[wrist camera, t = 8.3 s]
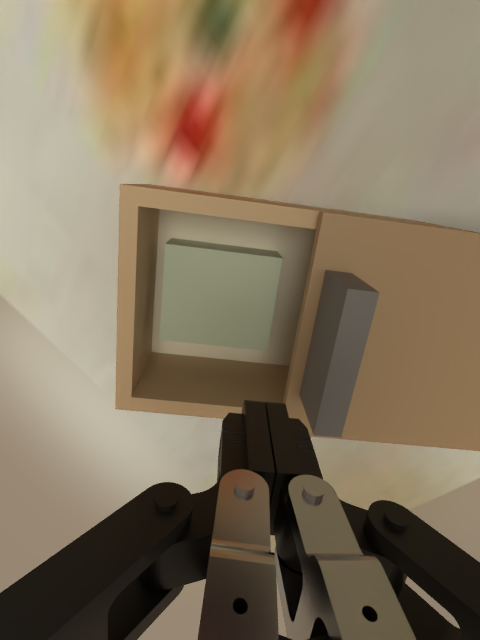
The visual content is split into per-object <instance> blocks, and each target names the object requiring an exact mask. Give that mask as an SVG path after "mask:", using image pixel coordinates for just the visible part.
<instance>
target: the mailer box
mask: <svg viewBox="0 0 480 640" xmlns="http://www.w3.org/2000/svg"><path fill="white" fill-rule="evenodd" d="M320 211H321V212H329V213H336V214H343V215H351V216H358V217H366V218H373V219H380V220H388V221H395V222H403V223H410V224H417V225H425V226H432V227H440V228H447V229H454V230H461V229H456V228H450V227H445V226H440V225H434V224H429V223H424V222H418V221H413V220H407V219H400V218H392V217H385V216H378V215H370V214H363V213H355V212H348V211H341V210H333V209H326V208H319V207H311V206H304V205H297V204H289V203H282V202H275V201H267V200H260V199H252V198H245V197H238V196H230V195H223V194H216V193H208V192H201V191H194V190H186V189H179V188H172V187H164V186H157V185H149V184H120V205H119V256H118V307H117V358H116V409H121V410H131V411H143V412H154V413H165V414H176V415H188V416H199V417H210V418H221V419H224V418H225V417H226V416H227V414H228V413H229V412H230V413H241V414H242V408H243V402H244V400H252V401H263V402H264V403H265V402H274V403H283V398H284V393H285V388H286V383H287V378H288V373H289V367H290V362H291V357H292V352H293V347H294V342H295V337H296V331H297V326H298V321H299V316H300V311H301V306H302V301H303V295H304V290H305V285H306V280H307V275H308V270H309V265H310V259H311V254H312V249H313V244H314V239H315V234H316V229H317V223H318V218H319V213H320ZM462 231H466V230H462ZM469 232H472V231H469Z"/></svg>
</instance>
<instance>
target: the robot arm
mask: <svg viewBox="0 0 480 640" xmlns="http://www.w3.org/2000/svg"><path fill="white" fill-rule="evenodd" d="M310 439H311V438H310V435H309V432H308V429H307V427H306V426H305V425H304V424H303V423H302V422H301V421H300V419H296V418H289V416H288V411H287V407H286V404H285V403H274V402H265V403H264V402H263V401H252V400H244V402H243V408H242V414H241V413H230V412H229V413H228V414H227V416H226V417H225V418H224V420H223V423H222V431H221V439H220V447H219V455H218V475H217V483H216V484H215V485H214V486H213V487H212V488H210V489H208V490H206V491H204V492H200V493H196V494H191V493H190V492H189V491H188V490H187V489H186V488H185V487H183V486H181V485H179V484H176V483H171V482H164V483H159V484H156V485H153V486H151V487H149V488H148V489H146V490H145V491H144V492H142V493H141V494H139V495H138V496H137V497H135V498H134V499H133V500H131V501H129V502H128V503H127V504H125V505H124V506H122V507H121V508H120V509H118V510H117V511H115V512H114V513H113V514H111V515H110V516H108V517H107V518H106V519H104V520H103V521H101V522H100V523H98V524H97V525H96V526H94V527H93V528H91V529H90V530H89V531H87V532H86V533H84V534H83V535H81V536H80V537H79V538H77V539H76V540H75V541H73V542H72V543H70V544H69V545H67V546H66V547H65V548H63V549H62V550H60V551H59V552H58V553H56V554H55V555H53V556H52V557H50V558H49V559H48V560H46V561H45V562H43V563H42V564H41V565H39V566H38V567H36V568H35V569H34V570H32V571H31V572H29V573H28V574H26V575H25V576H24V577H22V578H21V579H19V580H18V581H17V582H15V583H14V584H12V585H11V586H10V587H8V588H7V589H5V590H4V591H3V592H1V593H0V640H137V639H138V638H139V637H140V636H141V635H142V633H143V632H144V631H145V630H146V629H147V628H148V627H149V626H150V625H151V624H152V623H153V622H154V621H155V619H156V618H157V617H158V616H159V615H160V614H161V613H162V612H163V611H164V610H165V609H166V608H167V606H168V605H169V604H170V603H171V602H172V601H173V600H174V599H175V598H176V597H177V596H178V595H179V593H180V592H181V590H182V589H183V587H184V585H186V584H189V583H193V582H196V581H200V580H203V579H206V584H205V592H204V599H203V606H202V613H201V620H200V627H199V634H198V640H480V562H478V561H477V560H475V559H474V558H473V557H471V556H470V555H469V554H467V553H466V552H465V551H463V550H462V549H461V548H459V547H458V546H457V545H455V544H454V543H452V542H451V541H450V540H448V539H447V538H446V537H444V536H443V535H441V534H440V533H439V532H438V531H436V530H435V529H433V528H432V527H431V526H429V525H428V524H427V523H425V522H424V521H423V520H421V519H420V518H418V517H417V516H416V515H414V514H413V513H412V512H410V511H409V510H408V509H406V508H405V507H403V506H401V505H399V504H397V503H395V502H391V501H386V500H380V501H376V502H374V503H372V504H371V505H370V507H369V509H368V510H365V509H362V508H359V507H356V506H353V505H350V504H348V503H345V502H344V501H342V500H340V499H339V498H338V496H337V494H336V492H335V490H334V489H333V487H332V486H331V485H330V484H329V483H327V482H326V481H325V480H323V477H322V474H321V471H320V468H319V464H318V461H317V458H316V455H315V451H314V449H313V445H312V442H311V440H310ZM270 535H275V540H276V547H275V553H271V545H270ZM407 576H408V577H409V578H410V579H411V580H413V581H414V582H415V583H416V584H417V585H418V586H419V587H421V588H422V589H423V590H424V591H425V592H426V593H427V594H429V595H430V596H431V597H432V598H433V599H434V600H436V601H437V602H438V603H439V604H440V605H441V606H442V607H444V608H445V609H446V610H447V611H448V612H449V613H450V614H451V615H452V616H453V617H454V618H455V620H456V621H457V623H458V624H459V627H460V629H459V628H456V627H454V626H453V625H452V624H451V623H449V622H448V621H447V620H446V619H445V618H444V617H443V616H441V615H440V614H439V613H438V612H437V611H436V610H435V609H434V608H433V607H431V606H430V605H429V604H428V603H427V602H426V601H425V600H424V599H422V598H421V597H420V596H419V595H418V594H417V593H416V592H415V591H413V590H412V589H411V588H410V587H409V586H408V585H407V584H405V581H406V578H407ZM276 578H277V583H278V588H279V593H280V599H281V604H282V609H283V615H284V620H285V626H286V633H287V637H284V636H281V635H278V612H277V611H278V610H277V584H276Z"/></svg>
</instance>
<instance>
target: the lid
mask: <svg viewBox="0 0 480 640" xmlns="http://www.w3.org/2000/svg"><path fill="white" fill-rule="evenodd" d="M283 403H285V404H286V407H287V411H288V416H289V418H296V419H300V421H301V422H302V423H303V424H304V425H305V426H306V427H307V429H308V432H309V435H310V436H312V437H324V438H336V439H347V440H359V441H370V442H382V443H393V444H405V445H416V446H428V447H439V448H451V449H462V450H474V451H480V233H477V232H469V231H462V230H454V229H447V228H440V227H432V226H425V225H417V224H410V223H403V222H395V221H388V220H380V219H373V218H366V217H358V216H351V215H343V214H336V213H329V212H321V211H320V213H319V218H318V223H317V229H316V234H315V239H314V244H313V249H312V254H311V259H310V265H309V270H308V275H307V280H306V285H305V290H304V295H303V301H302V306H301V311H300V316H299V321H298V326H297V331H296V337H295V342H294V347H293V352H292V357H291V362H290V367H289V373H288V378H287V383H286V388H285V393H284V398H283Z"/></svg>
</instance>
